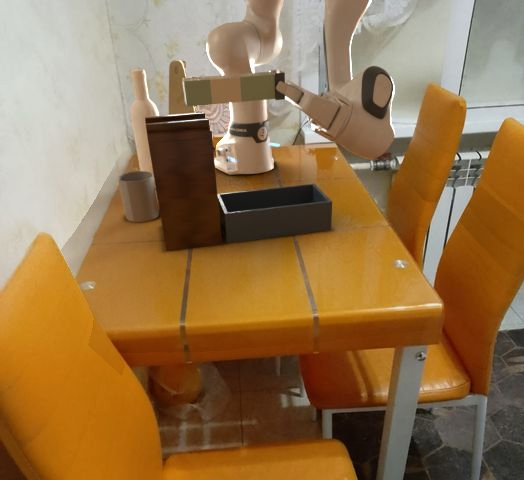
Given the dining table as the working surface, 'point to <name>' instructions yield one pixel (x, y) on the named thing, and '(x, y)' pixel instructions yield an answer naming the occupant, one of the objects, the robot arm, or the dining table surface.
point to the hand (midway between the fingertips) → (273, 82)
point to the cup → (139, 196)
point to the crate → (274, 212)
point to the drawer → (232, 88)
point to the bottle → (142, 118)
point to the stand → (185, 179)
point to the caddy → (177, 89)
